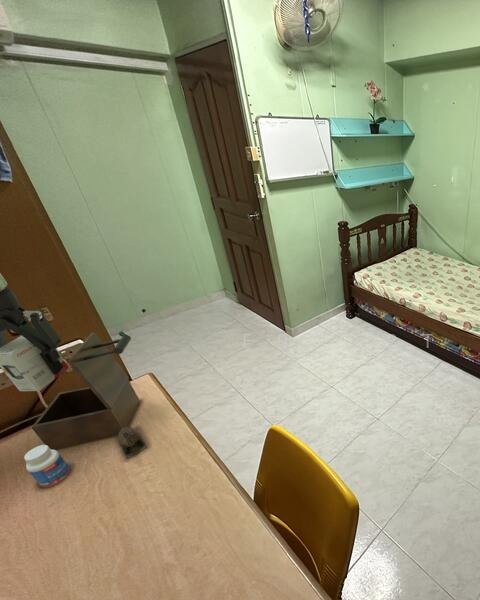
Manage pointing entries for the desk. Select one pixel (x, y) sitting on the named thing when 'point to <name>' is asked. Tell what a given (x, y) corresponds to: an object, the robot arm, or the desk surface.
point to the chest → (84, 417)
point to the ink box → (27, 365)
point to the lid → (101, 367)
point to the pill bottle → (46, 465)
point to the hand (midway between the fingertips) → (41, 373)
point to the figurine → (131, 441)
